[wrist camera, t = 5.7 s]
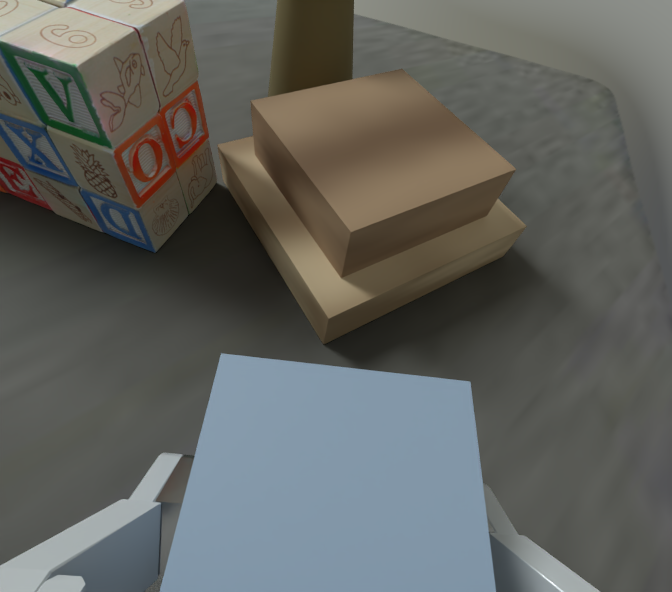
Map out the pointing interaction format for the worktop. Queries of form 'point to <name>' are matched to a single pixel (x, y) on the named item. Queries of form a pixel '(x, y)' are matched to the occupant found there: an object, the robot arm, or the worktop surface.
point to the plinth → (369, 284)
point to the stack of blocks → (104, 114)
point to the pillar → (332, 485)
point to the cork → (311, 44)
